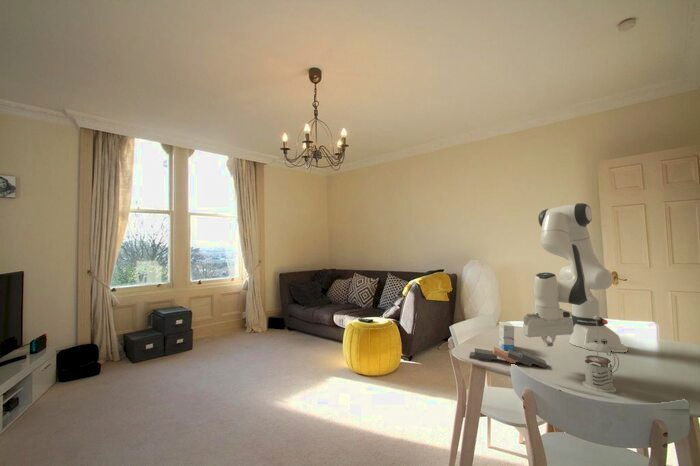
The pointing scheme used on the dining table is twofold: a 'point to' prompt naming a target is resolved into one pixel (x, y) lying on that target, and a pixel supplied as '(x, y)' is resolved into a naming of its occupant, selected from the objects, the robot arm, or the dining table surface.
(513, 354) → the domino
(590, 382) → the french press
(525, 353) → the domino
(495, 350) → the domino
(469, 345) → the dining table surface
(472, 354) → the domino
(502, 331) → the ink box
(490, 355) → the domino
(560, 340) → the dining table surface
